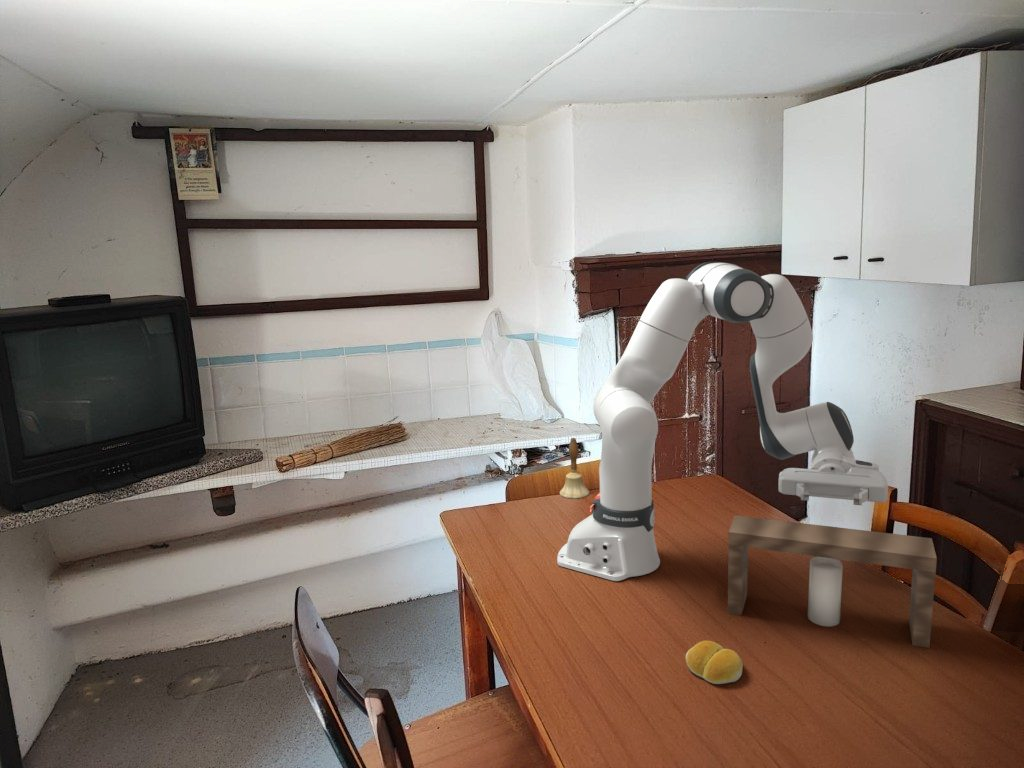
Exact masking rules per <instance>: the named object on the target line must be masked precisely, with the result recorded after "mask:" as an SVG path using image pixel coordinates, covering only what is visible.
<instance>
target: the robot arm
mask: <svg viewBox="0 0 1024 768" xmlns="http://www.w3.org/2000/svg"><path fill="white" fill-rule="evenodd" d="M796 291H797V290H795V288H794V286H793V285H792V284H791V282H790V281H789V279H788V278H786V276H784V275H782V274H777V273H769V274H765V275H764V274H763V275H761V276H760V275H759V274H758V273H756V272H754V271H752V270H750V269H748V268H743V267H741V266H739V265H737V264H734V263H728V262H720V261H707V262H703V263H701V264H699V265H697V266H696V267H695V268H693V269H692V270H691V271H690V272H689V273H688V274H687V275H686V276H685V277H684V276H683V278H679V277H678V278H676V277H675V278H668V279H667V280H665V281H663V282H662V283H661V284H660V286H659V287H658V288H657V289H656V291H655V292H654V294H653V295H652V297H651V298H650V300H649V302H648V303H647V305H646V306H645V308H644V310H643V312H642V314H641V316H640V318H639V321H638V322H637V324H636V326H635V329H634V331H633V333H632V335H631V337H630V338H629V342H628V344H627V346H626V347H625V349H624V352H623V353H622V355H621V357H620V359H619V360H618V362H617V364H616V365H615V366H614V367H613V369H612V371H611V372H610V374H609V375H608V377H607V379H606V380H605V382H604V384H603V386H602V387H601V388H599V390H598V391H597V392H596V394H595V397H594V401H593V414H594V417H595V419H596V421H597V423H598V425H599V426H600V431H601V438H602V439H601V440H602V441H601V452H600V453H601V455H600V463H599V467H598V473H599V475H598V476H599V478H598V479H599V493H597V494H596V496H595V497H594V500H593V501H592V503H591V505H590V507H589V513H590V514H591V515H589V516H587V517H586V518H583V520H581V521H580V522H578V523H577V524H576V525H575V526H574V527H573V528H572V530H571V531H570V532H569V536H568V539H567V543H565V544H564V545H562V547H561V548H560V550H559V551H558V553H557V557H556V560H557V561H556V562H557V565H558V566H560V567H562V568H566V569H570V570H573V571H577V572H580V573H585V574H587V575H591V576H596V577H598V578H602V579H606V580H609V581H613V582H620V581H623V580H626V579H628V578H632V577H633V578H634V577H639V576H644V575H647V574H650V573H653V572H654V571H656V570H657V569H658V568H659V566H660V564H661V559H660V556H659V554H658V553H659V552H658V549H657V545H656V539H655V533H654V527H655V521H656V520H655V505H654V500H653V498H652V495H653V494H652V491H653V490H652V465H653V459H654V452H655V447H656V446H655V444H656V438H657V436H658V433H659V423H658V418H657V413H656V411H655V409H654V408H653V406H652V405H651V404H652V403H653V402H652V401H653V400H654V398H655V397H656V395H657V394H658V393H659V391H660V390H661V388H663V386H664V385H665V384H666V383H667V382H668V381H669V380H670V379H671V378H673V376H674V375H675V372H676V369H677V368H678V366H679V363H680V362H681V360H682V358H683V356H684V354H685V352H686V349H687V347H688V345H689V344H690V343H689V342H690V340H691V339H692V336H694V335H693V334H694V332H695V329H696V328H697V326H698V325H699V324H700V322H702V321H703V320H704V319H705V318H706V317H707V316H711V317H713V318H717V319H720V320H724V321H727V322H728V323H734V324H737V323H740V324H741V323H750V327H751V329H752V332H753V335H754V336H755V342H756V348H755V352H754V353H753V354H751V356H750V358H749V359H750V360H749V372H750V373H749V375H750V380H751V381H750V382H751V386H752V392H753V395H754V397H753V398H754V402H755V407H756V410H757V411H756V412H757V416H758V417H757V418H758V422H759V435H760V436H759V437H760V443H761V445H762V447H763V449H764V451H765V453H766V454H767V455H769V456H771V457H773V458H776V459H778V460H781V461H782V460H786V459H789V458H792V457H795V456H797V455H800V454H804V453H808V452H812V456H811V460H810V461H811V464H810V468H803V467H802V468H799V467H787V468H784V469H783V470H782V471H780V472H779V474H778V492H779V493H781V494H783V495H792V496H797V497H799V498H800V500H801V501H810V497H812V498H813V497H814V498H824V499H825V498H826V499H834V500H835V499H837V500H846V501H847V500H848V501H849V500H850V501H853V505H855V506H863V503H866V502H871V503H882V504H883V503H886V502H888V499H889V497H888V496H889V484H888V480H887V478H886V476H885V474H884V473H882V472H881V471H880V469H879V465H878V464H877V463H874V462H868V461H863V460H859V459H857V458H855V455H854V452H853V449H852V448H853V445H854V442H855V441H854V434H853V430H852V425H851V423H850V421H849V418H848V415H847V414H846V412H845V411H844V410H843V408H841V407H839V406H838V405H836V404H834V403H833V402H830V401H825V402H821V403H817V404H813V405H809V406H806V407H802V408H799V409H795V410H792V411H787V412H778V411H777V408H776V407H777V406H776V402H775V398H774V397H775V396H774V391H773V385H774V382H775V381H777V379H778V378H779V377H780V376H781V375H783V374H784V373H785V372H787V371H788V370H789V369H791V368H792V367H794V366H796V365H797V364H798V363H799V362H801V361H802V359H804V358H805V356H806V355H807V354H808V352H809V351H810V349H811V347H812V345H813V341H814V335H813V330H812V327H811V322H810V319H809V317H808V313H807V312H806V309H805V306H804V305H803V303H802V301H801V298H800V297H799V294H798V293H797V292H796Z"/></svg>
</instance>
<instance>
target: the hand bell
mask: <svg viewBox="0 0 1024 768" xmlns="http://www.w3.org/2000/svg"><path fill="white" fill-rule="evenodd" d="M568 454H569V458H570V472H568V473H567V474H566V475H565V481H564V485H563V487H562V488H561V489H560V491H559V495H560V496H561V497H563V498H566V499H581V498H586V497H587V496H589V495H590V491H589V488H587V486H585V483H584V480H583V475H582V473H580V472H578V470H577V469H578V464H577V463H578V462H577V459H578V455H579V446H578V442H577V439H576V438H575V437H571V439H570V442H569V445H568Z"/></svg>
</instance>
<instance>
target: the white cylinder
mask: <svg viewBox="0 0 1024 768" xmlns="http://www.w3.org/2000/svg"><path fill="white" fill-rule="evenodd" d="M843 565H844V564H843V563H842V562H841V560H839V559H832V558H825V557H817V556H813V557H812V558H811V559H810V561H809V579H808V603H807V618H808V620H809V621H811V623H813V624H816V625H818V626H822V627H828V628H829V627H835V626H838V625H839V624H840V622H841V608H842V607H841V603H842V587H843V586H842V585H843V584H842V583H843Z"/></svg>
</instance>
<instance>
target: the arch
mask: <svg viewBox="0 0 1024 768" xmlns="http://www.w3.org/2000/svg"><path fill="white" fill-rule="evenodd" d="M749 548H751V549H752V548H753V549H759V550H767V551H775V552H780V553H789V554H795V555H805V556H811V557H825V558H832V559H836V560H839V561H841V560H842V561H848V562H855V563H856V562H857V563H863V564H871V565H879V566H885V567H894V568H901V569H909V570H912V577H911V592H910V604H909V616H908V617H909V619H908V623H909V629H910V637H911V644H912V646H915V647H921V648H927V649H930V646H931V632H932V623H933V622H932V621H933V609H934V599H935V598H934V597H935V596H934V595H935V586H936V585H935V584H936V576H937V575H936V572H937V560H938V558H937V554H936V551H935V549H936V548H935V545H934V542H933V538H932V537H923V536H916V535H915V536H914V535H906V534H899V533H889V532H881V531H872V530H871V531H870V530H863V529H856V528H848V527H847V528H846V527H837V526H828V525H819V524H813V523H803V522H795V521H788V520H787V521H786V520H779V519H778V520H777V519H771V518H770V519H768V518H761V517H760V518H759V517H752V516H744V515H734V517H733V520H732V522H731V524H730V527H729V530H728V548H727V549H728V555H727V556H728V557H727V558H728V562H727V564H728V566H727V569H728V570H727V614H730V615H736V616H742V615H743V611H744V607H745V603H746V600H747V597H748V563H749V562H748V557H749V556H748V553H749V552H748V551H749Z"/></svg>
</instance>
